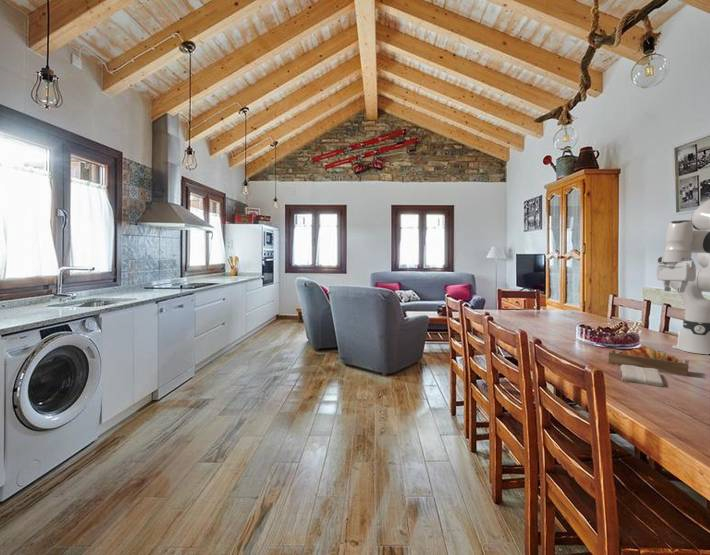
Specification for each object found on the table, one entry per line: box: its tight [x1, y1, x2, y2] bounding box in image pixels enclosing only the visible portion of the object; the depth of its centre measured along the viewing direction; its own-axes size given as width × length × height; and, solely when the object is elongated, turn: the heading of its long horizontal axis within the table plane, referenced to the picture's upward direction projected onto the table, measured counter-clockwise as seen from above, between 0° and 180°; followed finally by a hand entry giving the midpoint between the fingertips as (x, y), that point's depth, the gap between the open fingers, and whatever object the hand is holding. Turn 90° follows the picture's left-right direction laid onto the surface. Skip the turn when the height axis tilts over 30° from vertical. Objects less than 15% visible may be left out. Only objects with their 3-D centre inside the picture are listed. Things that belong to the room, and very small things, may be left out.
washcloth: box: [620, 365, 664, 387], centre depth 139 cm, size 12×18×3 cm, turn 148°
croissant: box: [618, 345, 684, 363], centre depth 159 cm, size 21×10×8 cm, turn 58°
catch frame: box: [608, 348, 690, 377], centre depth 152 cm, size 8×24×4 cm, turn 47°
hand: (673, 291), depth 159 cm, fingers open, 8 cm apart
